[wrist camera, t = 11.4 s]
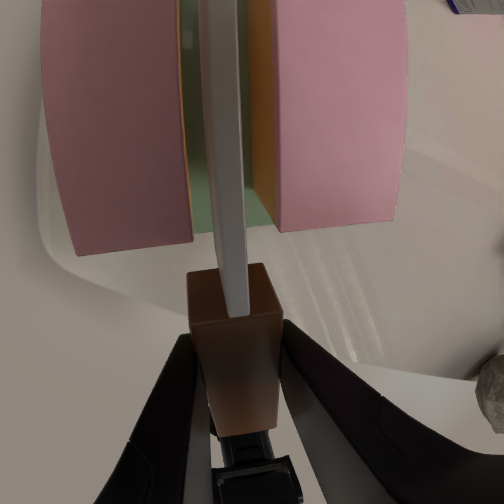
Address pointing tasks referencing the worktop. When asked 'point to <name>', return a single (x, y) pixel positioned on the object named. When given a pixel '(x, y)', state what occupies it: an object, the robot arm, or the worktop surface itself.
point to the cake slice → (117, 122)
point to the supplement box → (477, 6)
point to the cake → (327, 109)
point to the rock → (492, 392)
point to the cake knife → (231, 254)
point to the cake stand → (195, 120)
